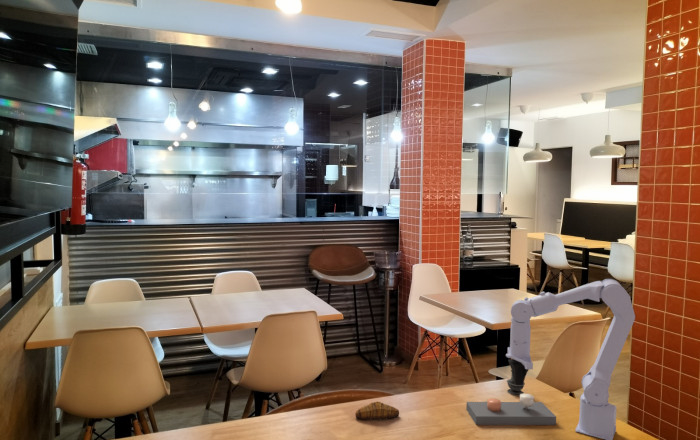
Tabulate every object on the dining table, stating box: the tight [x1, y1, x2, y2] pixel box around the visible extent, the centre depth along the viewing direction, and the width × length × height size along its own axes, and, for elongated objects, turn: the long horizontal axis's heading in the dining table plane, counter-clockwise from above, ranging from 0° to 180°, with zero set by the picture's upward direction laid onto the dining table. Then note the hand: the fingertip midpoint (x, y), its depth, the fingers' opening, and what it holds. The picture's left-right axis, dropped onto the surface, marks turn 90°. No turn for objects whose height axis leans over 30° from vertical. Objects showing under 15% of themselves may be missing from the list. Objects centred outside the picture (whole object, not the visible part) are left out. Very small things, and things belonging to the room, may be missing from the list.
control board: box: [465, 401, 557, 426], centre depth 149 cm, size 24×10×2 cm, turn 92°
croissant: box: [354, 401, 400, 421], centre depth 146 cm, size 14×7×5 cm, turn 100°
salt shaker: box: [506, 369, 526, 397], centre depth 167 cm, size 6×6×12 cm
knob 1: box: [486, 397, 502, 412], centre depth 148 cm, size 4×4×5 cm
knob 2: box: [519, 393, 535, 410], centre depth 149 cm, size 4×4×5 cm
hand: (518, 384), depth 148 cm, fingers closed
